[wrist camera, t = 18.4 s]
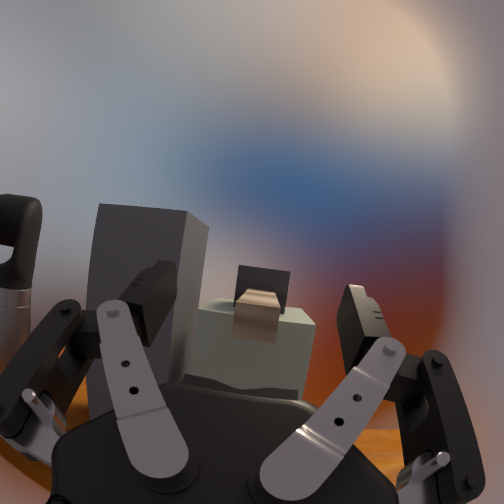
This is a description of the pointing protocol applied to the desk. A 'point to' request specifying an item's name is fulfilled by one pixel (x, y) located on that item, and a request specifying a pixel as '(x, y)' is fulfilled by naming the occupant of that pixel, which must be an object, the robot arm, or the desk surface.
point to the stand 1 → (124, 272)
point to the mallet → (259, 303)
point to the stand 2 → (252, 350)
